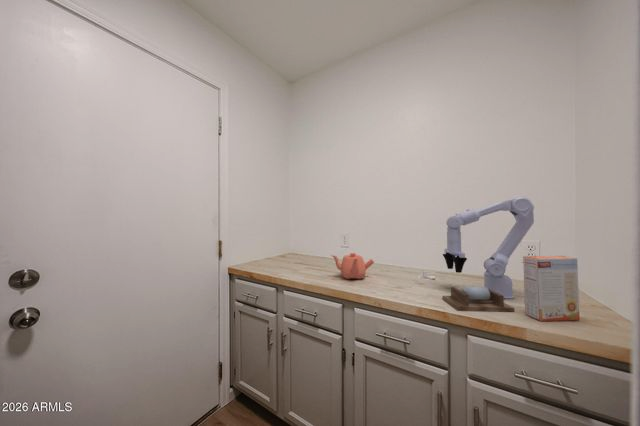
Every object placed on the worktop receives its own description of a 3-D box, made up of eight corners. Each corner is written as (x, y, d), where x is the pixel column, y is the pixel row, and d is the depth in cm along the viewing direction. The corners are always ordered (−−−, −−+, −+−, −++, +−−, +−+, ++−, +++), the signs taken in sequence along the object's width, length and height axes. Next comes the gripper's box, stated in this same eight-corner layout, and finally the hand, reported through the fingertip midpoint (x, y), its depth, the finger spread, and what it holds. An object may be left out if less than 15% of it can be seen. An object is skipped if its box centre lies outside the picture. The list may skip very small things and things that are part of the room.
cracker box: (561, 313, 82) (559, 255, 83) (580, 321, 76) (579, 258, 77) (523, 314, 82) (522, 255, 82) (540, 321, 76) (538, 258, 76)
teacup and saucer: (437, 280, 128) (437, 272, 128) (426, 281, 125) (426, 274, 125) (425, 276, 136) (425, 269, 136) (414, 277, 133) (414, 270, 133)
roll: (482, 297, 93) (482, 285, 93) (490, 302, 88) (490, 289, 88) (460, 297, 93) (460, 285, 93) (468, 302, 88) (468, 289, 88)
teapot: (356, 283, 120) (356, 257, 120) (330, 277, 133) (330, 253, 133) (375, 277, 132) (375, 253, 133) (350, 272, 145) (350, 250, 146)
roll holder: (491, 300, 96) (491, 286, 96) (514, 312, 84) (514, 296, 84) (442, 299, 97) (442, 286, 97) (457, 310, 85) (457, 295, 85)
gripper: (438, 240, 116) (438, 267, 116) (453, 243, 102) (453, 274, 101) (452, 240, 116) (453, 267, 115) (469, 243, 101) (470, 274, 101)
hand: (454, 270), depth 108 cm, fingers open, 7 cm apart
